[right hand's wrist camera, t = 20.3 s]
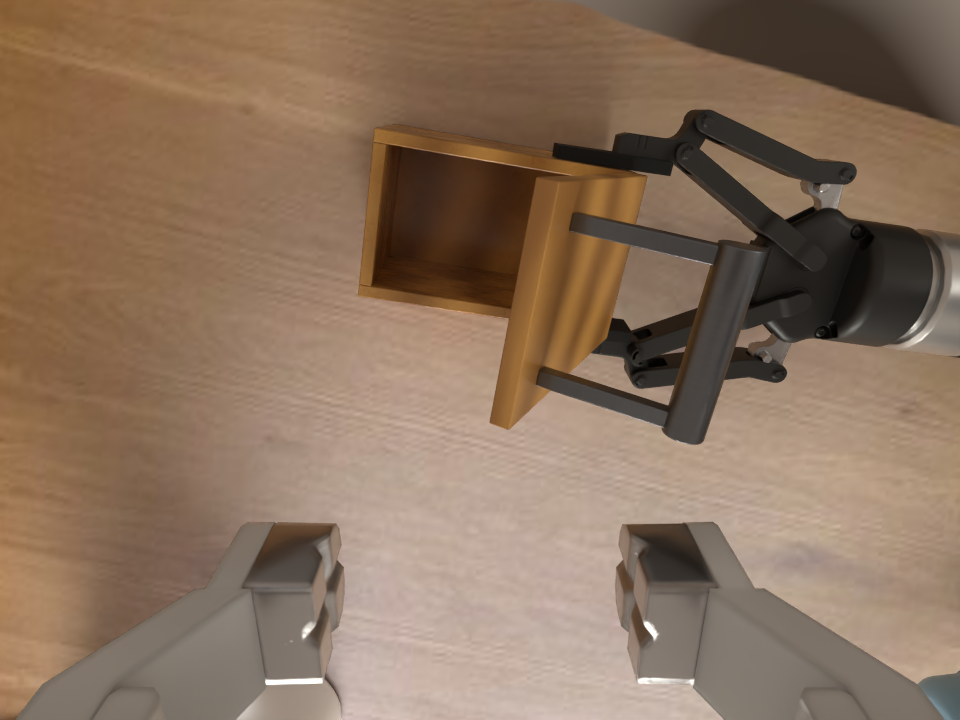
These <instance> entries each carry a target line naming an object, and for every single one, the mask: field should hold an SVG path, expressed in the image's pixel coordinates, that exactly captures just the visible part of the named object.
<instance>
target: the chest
mask: <svg viewBox="0 0 960 720" xmlns="http://www.w3.org/2000/svg"><path fill="white" fill-rule="evenodd" d="M373 141H374V142H373V149H372V159H371V169H370V179H369V190H368V200H367V210H366V220H365V230H364V241H363V251H362V261H361V271H360V281H359V283H360V285H359V291H358V296H361V297H368V298H374V299H380V300H387V301H393V302H400V303H406V304H413V305H419V306H426V307H432V308H439V309H445V310H451V311H458V312H464V313H471V314H477V315H484V316H490V317H497V318H503V319H509V318H510V313H511V307H512V302H513V297H514V292H515V286H516V281H517V276H518V271H519V265H520V260H521V255H522V250H523V244H524V239H525V234H526V229H527V223H528V218H529V213H530V208H531V202H532V197H533V192H534V187H535V181H536V178H537V177H550V176H574V175H598V174H622V173H635V172H632V171H629V170H626V169H619V168H613V167H606V166H599V165H592V164H586V163H580V162H574V161H568V160H562V159H557V158H555V157H554V156H552V154H553V151H547V150H541V149H535V148H530V147H524V146H518V145H512V144H507V143H501V142H495V141H490V140H484V139H478V138H472V137H467V136H461V135H455V134H449V133H444V132H438V131H432V130H426V129H421V128H415V127H409V126H404V125H398V124H393V125H390V126H384V127H378V128H375V129H374V138H373ZM636 174H637V173H636Z"/></svg>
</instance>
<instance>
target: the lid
mask: <svg viewBox="0 0 960 720" xmlns="http://www.w3.org/2000/svg"><path fill="white" fill-rule="evenodd" d="M646 181H647V176H646V175H641V174H636V173H622V174H598V175H574V176H550V177H537V178H536V181H535V187H534V192H533V197H532V202H531V208H530V213H529V218H528V223H527V229H526V234H525V239H524V244H523V250H522V255H521V260H520V265H519V271H518V276H517V281H516V286H515V292H514V297H513V302H512V307H511V313H510V318H509V323H508V328H507V334H506V339H505V344H504V349H503V354H502V360H501V365H500V370H499V375H498V381H497V386H496V391H495V396H494V402H493V407H492V412H491V417H490V423H491V424H494V425H496V426H499V427H502V428H504V429H507V430H509V429H510V428H511V427H512V426H513V425H515V424H516V423H517V422H518V421H519V420H520V419H521V418H522V417H523V416H524V415H525V414H526V413H527V412H528V411H529V410H531V409H532V408H533V407H534V406H535V405H536V404H537V403H538V402H539V401H540V400H541V399H542V398H543V397H544V396H545V395H546V394H548V393H549V392H550V391H554V392H557V393H560V394H563V395H566V396H569V397H572V398H575V399H578V400H581V401H584V402H587V403H590V404H593V405H596V406H599V407H602V408H605V409H608V410H611V411H614V412H617V413H620V414H623V415H626V416H629V417H632V418H635V419H638V420H641V421H644V422H647V423H650V424H653V425H656V426H659V427H662V431H663V433H664V434H665V435H667V436H668V437H669V438H671V439H673V440H675V441H678V442H681V443H684V444H690V445H698V444H701V443H702V442H703V441H704V439H705V436H706V433H707V430H708V426H709V423H710V420H711V417H712V414H713V411H714V408H715V405H716V402H717V399H718V396H719V393H720V390H721V387H722V384H723V381H724V378H725V375H726V372H727V369H728V366H729V363H730V360H731V357H732V354H733V351H734V348H735V345H736V342H737V339H738V336H739V333H740V330H741V327H742V324H743V321H744V318H745V315H746V312H747V309H748V306H749V303H750V300H751V297H752V294H753V291H754V288H755V285H756V282H757V279H758V276H759V273H760V270H761V267H762V264H763V261H764V258H765V255H766V250H765V249H763V248H760V247H757V246H754V245H750V244H746V243H742V242H737V241H730V240H719V241H718V243H715V242H710V241H706V240H701V239H697V238H693V237H688V236H684V235H679V234H675V233H670V232H666V231H662V230H657V229H653V228H648V227H644V226H639V225H635V224H636V220H637V216H638V213H639V209H640V205H641V201H642V197H643V193H644V189H645V185H646ZM630 246H633V247H637V248H642V249H646V250H650V251H654V252H658V253H663V254H667V255H671V256H675V257H679V258H684V259H688V260H692V261H696V262H700V263H705V264H709V265H711V267H710V270H709V273H708V276H707V280H706V283H705V286H704V290H703V293H702V296H701V300H700V303H699V306H698V309H697V313H696V316H695V319H694V323H693V326H692V329H691V333H690V336H689V339H688V343H687V346H686V349H685V352H684V356H683V359H682V362H681V366H680V369H679V372H678V376H677V379H676V382H675V385H674V389H673V392H672V395H671V399H670V402H669V405H668V406H667V405H664V404H661V403H658V402H655V401H652V400H649V399H646V398H642V397H639V396H636V395H633V394H630V393H627V392H624V391H621V390H617V389H614V388H611V387H608V386H605V385H602V384H599V383H596V382H593V381H589V380H586V379H583V378H580V377H577V376H574V375H571V374H569V373H570V372H571V371H572V370H573V369H574V368H575V367H576V366H577V365H578V364H580V363H581V362H582V361H583V360H584V359H585V358H586V357H587V356H588V355H589V354H590V353H591V352H592V351H593V350H594V349H595V348H597V347H598V346H599V345H600V344H601V343H602V342H603V341H604V340H605V339H606V338H607V335H608V331H609V327H610V323H611V319H612V315H613V312H614V308H615V304H616V300H617V296H618V292H619V288H620V284H621V280H622V276H623V272H624V268H625V264H626V260H627V256H628V252H629V248H630Z"/></svg>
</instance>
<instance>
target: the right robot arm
mask: <svg viewBox="0 0 960 720" xmlns="http://www.w3.org/2000/svg"><path fill="white" fill-rule="evenodd" d="M340 548H341V538H340V530H339V527H338V525H337V524H333V523H287V522H278V523H275V522H247V523H246V524H244V525H242V526H241V527H240V529H239V531H238V532H237V534H236V536H235V538H234V539H233V541H232V543H231V544H230V546H229V548H228V550H227V551H226V553H225V555H224V557H223V558H222V560H221V562H220V563H219V565H218V567H217V569H216V570H215V572H214V574H213V575H212V577H211V579H210V581H209V582H208V584H207V586H206V587H205V589H194V590H193V591H191V592H189V593H188V594H186V595H185V596H183V597H181V598H180V599H178V600H177V601H175V602H173V603H172V604H170V605H169V606H167V607H165V608H164V609H162V610H161V611H159V612H157V613H156V614H154V615H153V616H151V617H149V618H148V619H146V620H145V621H143V622H141V623H140V624H138V625H137V626H135V627H133V628H132V629H130V630H129V631H127V632H125V633H124V634H122V635H121V636H119V637H117V638H116V639H114V640H113V641H111V642H109V643H108V644H106V645H105V646H103V647H101V648H100V649H98V650H97V651H95V652H93V653H92V654H90V655H89V656H87V657H85V658H84V659H82V660H81V661H79V662H77V663H76V664H74V665H73V666H71V667H69V668H68V669H66V670H65V671H63V672H61V673H60V674H58V675H57V676H55V677H53V678H52V679H50V680H49V681H47V682H45V683H44V684H42V686H41V687H40V688H39V689H38V691H37V692H36V693H35V695H34V696H33V697H32V699H31V700H30V701H29V702H28V704H27V705H26V706H25V708H24V709H23V710H22V712H21V713H20V714H19V715H18V717H17V718H16V719H15V720H341V718H342V712H341V705H340V702H339V699H338V697H337V695H336V693H335V691H334V690H333V688H332V687H331V685H330V684H329V683H328V682H327V681H326V680H325V679H324V677H325V674H326V670H327V666H328V663H329V659H330V656H331V652H332V649H333V647H332V637H331V632H332V631H334V630H335V629H336V628H337V627H338V626H339V623H340V619H341V615H342V610H343V602H344V594H345V578H344V567H343V566H342V565H341V564H340V563H339V562H338V561H337V558H338V554H339V551H340ZM619 548H620V551H621V554H622V558H623V561H622V562H621V563H620V564H619V565H618V566H617V567H616V580H615V590H616V604H617V610H618V615H619V619H620V623H621V626H622V627H623V628H624V629H625V630H626V631H628V632H629V637H628V647H627V649H628V652H629V656H630V659H631V663H632V666H633V670H634V673H635V677H636V680H637V683H649V684H684V685H693V688H694V689H695V690H696V691H697V692H698V693H699V694H700V695H701V696H702V697H703V698H704V699H705V700H706V701H707V702H708V703H709V705H710V706H711V707H712V708H713V709H714V710H715V711H716V712H717V713H718V714H719V715H720V716H721V717H722V718H723V719H724V720H945V719H944V718H943V717H942V715H941V714H940V713H939V711H938V710H937V709H936V707H935V706H934V705H933V703H932V702H931V701H930V699H929V698H928V697H927V696H926V694H925V693H924V692H923V690H922V689H921V688H920V686H919V685H917V684H916V683H914V682H913V681H911V680H909V679H908V678H906V677H905V676H903V675H901V674H900V673H898V672H897V671H895V670H893V669H892V668H890V667H889V666H887V665H885V664H884V663H882V662H881V661H879V660H877V659H876V658H874V657H873V656H871V655H869V654H868V653H866V652H865V651H863V650H861V649H860V648H858V647H857V646H855V645H853V644H852V643H850V642H849V641H847V640H846V639H844V638H842V637H841V636H839V635H838V634H836V633H834V632H833V631H831V630H830V629H828V628H826V627H825V626H823V625H822V624H820V623H818V622H817V621H815V620H814V619H812V618H810V617H809V616H807V615H806V614H804V613H802V612H801V611H799V610H798V609H796V608H794V607H793V606H791V605H790V604H788V603H786V602H785V601H783V600H782V599H780V598H778V597H777V596H775V595H774V594H772V593H771V592H769V591H767V590H766V589H755V588H754V586H753V584H752V582H751V581H750V579H749V577H748V576H747V574H746V572H745V571H744V569H743V567H742V565H741V564H740V562H739V560H738V559H737V557H736V555H735V554H734V552H733V550H732V548H731V547H730V545H729V543H728V542H727V540H726V538H725V537H724V535H723V533H722V531H721V530H720V528H719V526H718V525H717V524H715V523H714V522H691V523H682V524H622V527H621V530H620V536H619Z"/></svg>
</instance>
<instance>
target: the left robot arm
mask: <svg viewBox="0 0 960 720" xmlns="http://www.w3.org/2000/svg"><path fill="white" fill-rule="evenodd" d="M683 122H684V123H683V124H682V126H681V128H680V129H679V131H678V132H677V133H676V134H675V135H674V136H672V137H671V138H659V137H652V136H645V135H639V134H632V133H625V132H624V133H620V134H617V135H615V140H614V145H613V150H612V151H606V150H599V149H592V148H586V147H579V146H572V145H566V144H559V143H554V148H553V154H552V156H554V157H555V158H557V159H562V160H568V161H574V162H580V163H586V164H592V165H599V166H606V167H613V168H619V169H626V170H633V171H640V172H646V173H653V174H660V175H667V176H670V175H671V171H672V167H673V164H674V165H675V166H676V167H678V168H679V169H680V170H681V171H682V172H684V173H685V174H686V175H687V176H688V177H689V178H691V179H692V180H693V181H694V182H695V183H697V184H698V185H699V186H700V187H701V188H703V189H704V190H705V191H706V192H707V193H709V194H710V195H711V196H712V197H713V198H715V199H716V200H717V201H718V202H719V203H721V204H722V205H723V206H724V207H725V208H726V209H728V210H729V211H730V212H731V213H732V214H734V215H735V216H736V217H737V218H738V219H740V220H741V221H742V223H743V224H744V225H745V226H746V227H748V228H749V229H750V230H751V231H752V232H754V233H755V234H756V235H757V237H756V239H755V240H754V241H753V240H751V241H750V245H754V246H757V247H760V248H763V249H765V250H766V255H765V258H764V261H763V264H762V267H761V270H760V273H759V276H758V279H757V282H756V285H755V288H754V291H753V294H752V297H751V300H750V303H749V306H748V309H747V312H746V315H745V318H744V321H743V324H742V327H741V330H745V329H749V328H752V327H755V326H758V325H761V324H763V325H764V326H765V327H766V328H767V329H768V330H769V331H770V333H771V336H770V337H769V338H768V339H767V340H766V341H763V342H755V343H754V342H753V343H750V344H749V346H748V348H743V347H735V348H734V351H733V354H732V357H731V360H730V363H729V366H728V369H727V372H726V375H725V378H724V380H727V379H736V378H746V377H751V378H755V379H760V380H764V381H769V382H773V383H778V382H781V381H782V380H784V379H785V377H786V375H787V371H786V369H785V368H784V367H783V366H782V363H783V361H784V358H785V356H786V354H787V352H788V349H789V347H790V345H791V343H794V342H798V341H801V340H804V339H809V338H816V339H822V340H829V341H836V342H844V343H851V344H859V345H866V346H874V347H879V346H884V347H885V348H889V349H894V350H902V351H910V352H919V353H927V354H935V355H943V356H952V357H958V358H960V235H958V234H952V233H945V232H938V231H932V230H924V229H917V230H914V229H912V228H909V227H905V226H898V225H892V224H885V223H878V222H871V221H864V220H857V219H851V218H847V217H846V216H845V215H843V214H842V213H841V212H840V211H839V210H837V209H838V205H839V201H840V197H841V193H842V189H843V185H845V184H848V183H850V182H852V181H853V180H854V178H855V176H856V172H857V170H856V167H855V166H854V165H853V164H851V163H847V162H840V161H834V160H826V159H813V158H811V157H809V156H807V155H805V154H803V153H801V152H799V151H797V150H794V149H792V148H790V147H788V146H786V145H784V144H782V143H780V142H778V141H776V140H773V139H771V138H769V137H767V136H765V135H763V134H761V133H759V132H757V131H755V130H752V129H750V128H748V127H746V126H744V125H742V124H740V123H738V122H736V121H734V120H731V119H729V118H727V117H725V116H723V115H721V114H719V113H717V112H715V111H712V110H691V111H689V112H688V113H687V114H686V115H685V117H684V120H683ZM705 139H707V140H709V141H712V142H714V143H716V144H718V145H720V146H722V147H724V148H726V149H729V150H731V151H733V152H735V153H737V154H739V155H741V156H744V157H746V158H748V159H750V160H752V161H754V162H756V163H759V164H761V165H763V166H765V167H767V168H769V169H771V170H774V171H776V172H778V173H780V174H782V175H785V176H787V177H791V178H795V179H799V180H801V182H800V185H801V190H802V192H803V193H805V194H807V195H810V196H811V197H812V198H813V200H814V206H813V207H810V208H808V209H806V210H804V211H802V212H800V213H798V214H796V215H794V216H792V217H790V218H788V219H786V220H784V219H783V218H782V217H781V216H779V215H778V214H776V213H774V212H773V211H772V210H770V209H769V208H768V207H767V206H766V205H764V204H763V203H762V202H761V201H760V200H759V199H757V198H756V197H755V196H754V195H753V194H752V193H750V192H749V191H748V190H747V189H746V188H745V187H743V186H742V185H741V184H740V183H739V182H738V181H736V180H735V179H734V178H733V177H732V176H731V175H729V174H728V173H727V172H726V171H725V170H724V169H722V168H721V167H720V166H719V165H718V164H717V163H715V162H714V161H713V160H712V159H711V158H710V157H708V156H707V155H706V154H705V153H704V152H703V151H701V150H700V149H699V148H700V147H701V145H702V144H703V142H704V140H705ZM697 309H698V308H696V309H693V310H690V311H687V312H684V313H681V314H679V315H676V316H673V317H670V318H667V319H664V320H661V321H658V322H655V323H652V324H649V325H646V326H644V327H641V328H638V329H635V330H632V331H631V330H630V329H629V327H628V326H627V324H626V323H625V321H624V320H623V319H615V318H612V319H611V323H610V327H609V331H608V335H607V338H606V339H605V340H604V341H603V342H602V343H601V344H600V345H599V346H598V347H597V348H595V349H594V350H593V351H592V352H591V353H593V354H601V355H608V356H616V357H621V358H623V359H624V362H625V364H624V369H625V371H626V373H627V375H628V377H629V378H630V380H631V382H632V384H633V385H634V387H636V388H640V389H643V388H652V387H661V386H671V385H675V382H676V379H677V376H678V372H679V369H680V366H681V362H682V359H683V356H684V352H681V353H672V354H664V353H667V352H670V351H673V350H676V349H679V348H682V347H685V346H687V343H688V339H689V336H690V333H691V329H692V326H693V323H694V319H695V316H696V313H697ZM661 354H663V355H661ZM917 685H919V686H920V688H921V689H922V690H923V692H924V693H925V694H926V696H927V697H928V698H929V699H930V701H931V702H932V703H933V705H934V706H935V707H936V709H937V710H938V711H939V713H940V714H941V715H942V717H943V718H944V719H945V720H960V671H958V672H957V673H956V674H947V675H939V676H931V677H927V678H925V679H923V680H922V681H920V682H919V683H918V684H917Z"/></svg>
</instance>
